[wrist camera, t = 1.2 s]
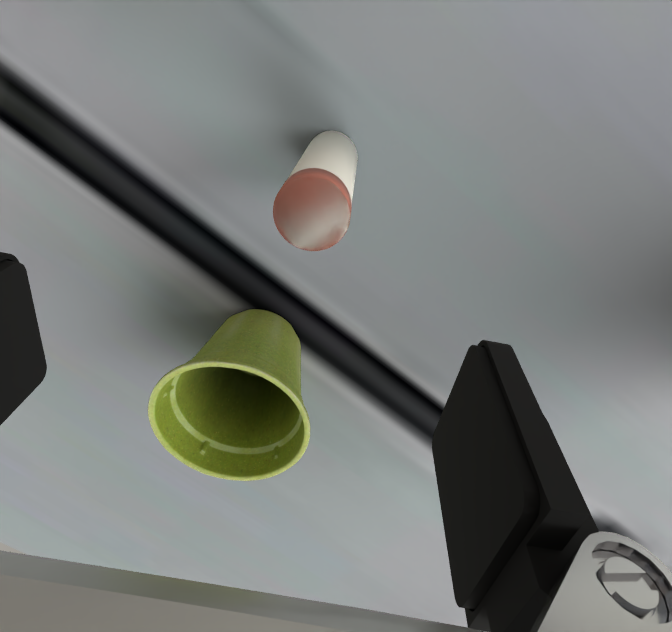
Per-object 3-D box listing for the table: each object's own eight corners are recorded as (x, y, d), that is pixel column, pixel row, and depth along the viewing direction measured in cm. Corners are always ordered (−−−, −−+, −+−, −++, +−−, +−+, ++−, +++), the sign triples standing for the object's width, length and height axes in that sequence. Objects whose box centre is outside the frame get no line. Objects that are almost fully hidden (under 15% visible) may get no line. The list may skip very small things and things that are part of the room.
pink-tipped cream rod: (362, 135, 25) (357, 183, 17) (352, 188, 27) (342, 257, 19) (309, 125, 25) (277, 168, 17) (302, 179, 27) (269, 243, 18)
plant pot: (210, 268, 31) (158, 340, 23) (341, 311, 32) (331, 394, 24) (188, 369, 35) (139, 456, 28) (302, 404, 36) (284, 497, 29)
